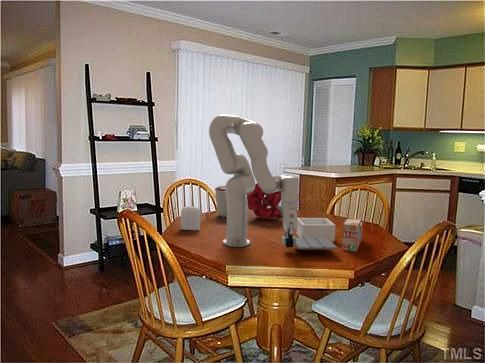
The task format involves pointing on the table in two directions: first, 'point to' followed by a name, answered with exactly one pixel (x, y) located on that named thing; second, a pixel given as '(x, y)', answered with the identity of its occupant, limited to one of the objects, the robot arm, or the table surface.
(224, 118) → the robot arm
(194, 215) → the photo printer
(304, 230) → the tub
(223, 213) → the canister
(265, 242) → the table surface
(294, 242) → the lid
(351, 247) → the printed milk carton
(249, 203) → the bouquet
